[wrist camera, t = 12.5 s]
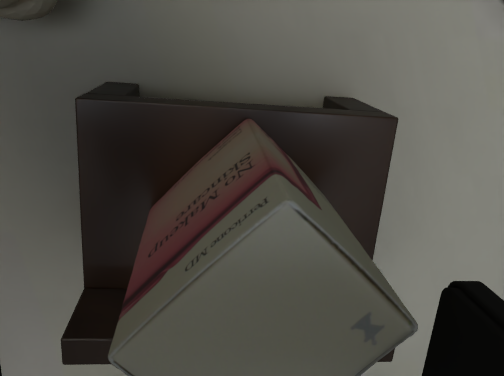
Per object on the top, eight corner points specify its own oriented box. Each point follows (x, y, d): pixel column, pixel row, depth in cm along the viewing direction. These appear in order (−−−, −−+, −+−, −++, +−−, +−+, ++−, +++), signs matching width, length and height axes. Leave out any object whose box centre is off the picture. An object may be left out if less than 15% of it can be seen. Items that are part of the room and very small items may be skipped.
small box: (248, 112, 15) (293, 188, 8) (327, 197, 17) (428, 330, 9) (144, 209, 16) (94, 363, 9) (227, 283, 17) (247, 471, 10)
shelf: (110, 250, 22) (61, 365, 14) (105, 81, 19) (44, 114, 12) (330, 255, 23) (392, 362, 16) (354, 97, 21) (441, 136, 13)
